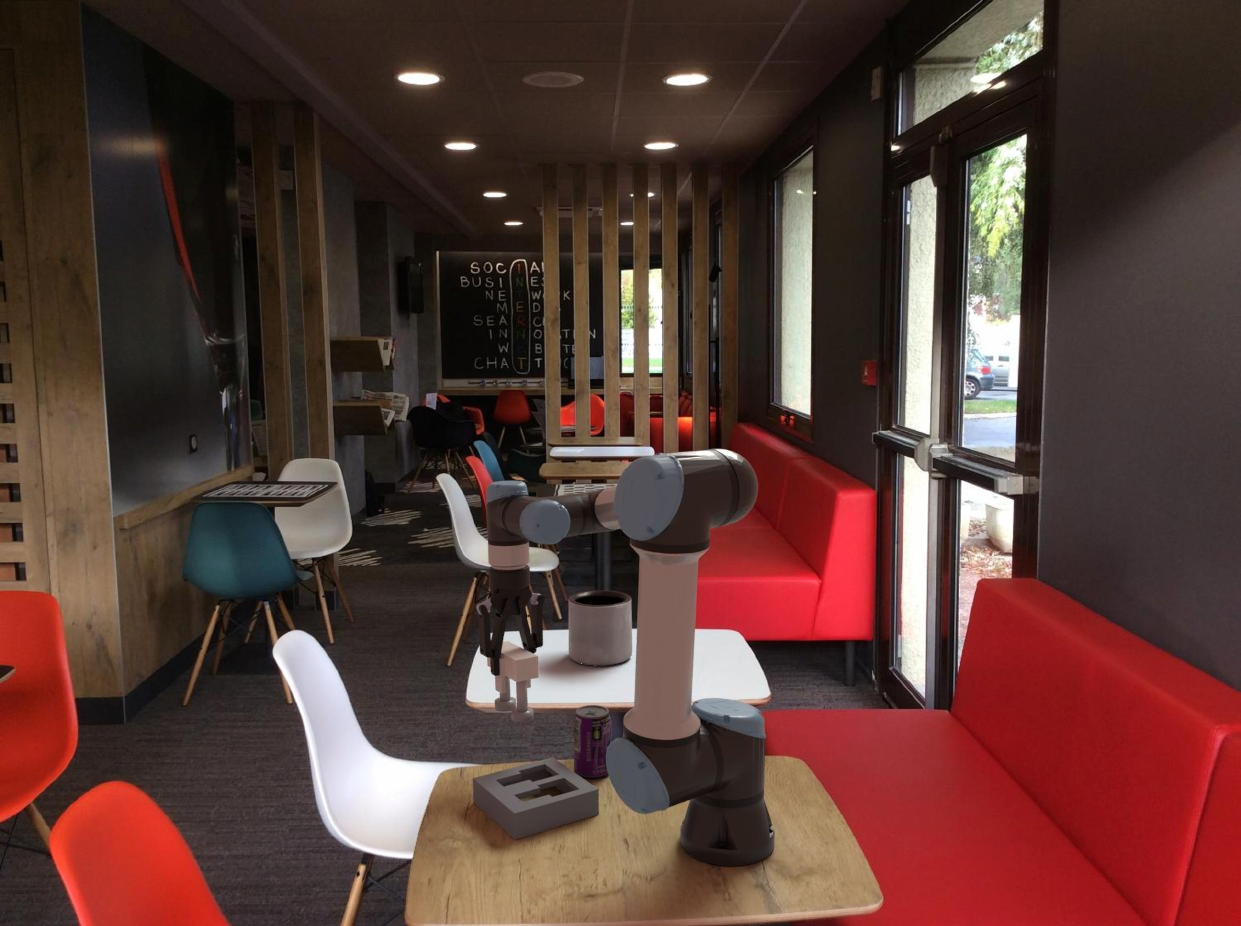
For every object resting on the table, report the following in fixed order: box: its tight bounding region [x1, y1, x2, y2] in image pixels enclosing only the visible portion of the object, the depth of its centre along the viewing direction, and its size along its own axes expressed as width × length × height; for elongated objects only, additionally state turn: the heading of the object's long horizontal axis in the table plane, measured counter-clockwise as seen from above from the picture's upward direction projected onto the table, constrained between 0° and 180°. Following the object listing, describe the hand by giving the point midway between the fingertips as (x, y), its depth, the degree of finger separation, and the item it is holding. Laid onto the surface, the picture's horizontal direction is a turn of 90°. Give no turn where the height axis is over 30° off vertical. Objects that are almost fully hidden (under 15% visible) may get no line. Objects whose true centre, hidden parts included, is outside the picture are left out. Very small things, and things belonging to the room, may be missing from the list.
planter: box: [568, 589, 633, 667], centre depth 261 cm, size 16×16×16 cm
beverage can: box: [572, 704, 613, 779], centre depth 194 cm, size 7×7×12 cm
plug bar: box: [486, 640, 540, 723], centre depth 193 cm, size 12×4×12 cm, turn 33°
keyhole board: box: [472, 757, 600, 840], centre depth 180 cm, size 16×16×4 cm
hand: (513, 688), depth 193 cm, fingers closed on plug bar, 4 cm apart
